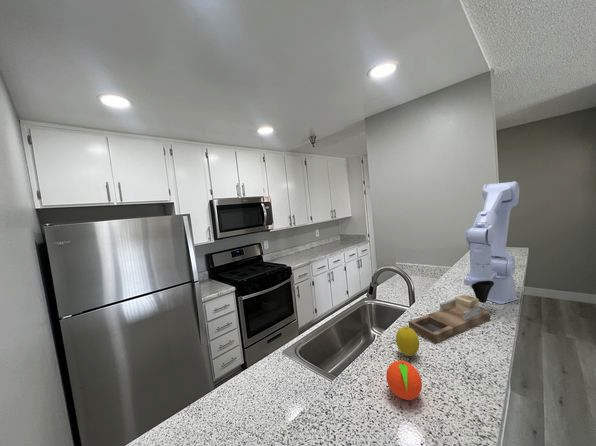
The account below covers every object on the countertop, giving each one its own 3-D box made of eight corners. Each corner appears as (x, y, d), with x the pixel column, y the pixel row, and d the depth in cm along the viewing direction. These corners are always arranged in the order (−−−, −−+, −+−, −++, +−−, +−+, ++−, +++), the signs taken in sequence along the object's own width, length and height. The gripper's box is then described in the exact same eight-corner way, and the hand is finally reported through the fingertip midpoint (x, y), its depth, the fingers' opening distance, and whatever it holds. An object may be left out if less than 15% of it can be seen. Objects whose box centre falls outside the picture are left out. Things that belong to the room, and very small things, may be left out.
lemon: (422, 363, 59) (421, 332, 58) (399, 362, 60) (397, 332, 59) (416, 349, 64) (414, 321, 63) (394, 348, 65) (393, 321, 65)
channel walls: (455, 305, 81) (454, 298, 81) (480, 314, 74) (480, 307, 74) (440, 310, 78) (439, 303, 78) (465, 321, 71) (465, 313, 71)
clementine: (428, 416, 45) (426, 381, 44) (389, 410, 47) (387, 377, 46) (418, 384, 52) (417, 354, 52) (385, 380, 54) (383, 351, 54)
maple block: (464, 305, 80) (464, 294, 80) (479, 310, 76) (478, 298, 76) (455, 309, 79) (455, 297, 78) (470, 314, 75) (469, 302, 74)
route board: (461, 309, 83) (461, 302, 83) (490, 319, 75) (489, 312, 75) (408, 329, 74) (408, 321, 74) (435, 343, 66) (434, 335, 65)
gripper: (481, 256, 85) (482, 293, 87) (454, 264, 80) (455, 302, 81) (504, 260, 79) (504, 299, 80) (476, 268, 74) (477, 310, 75)
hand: (481, 301), depth 80 cm, fingers closed
